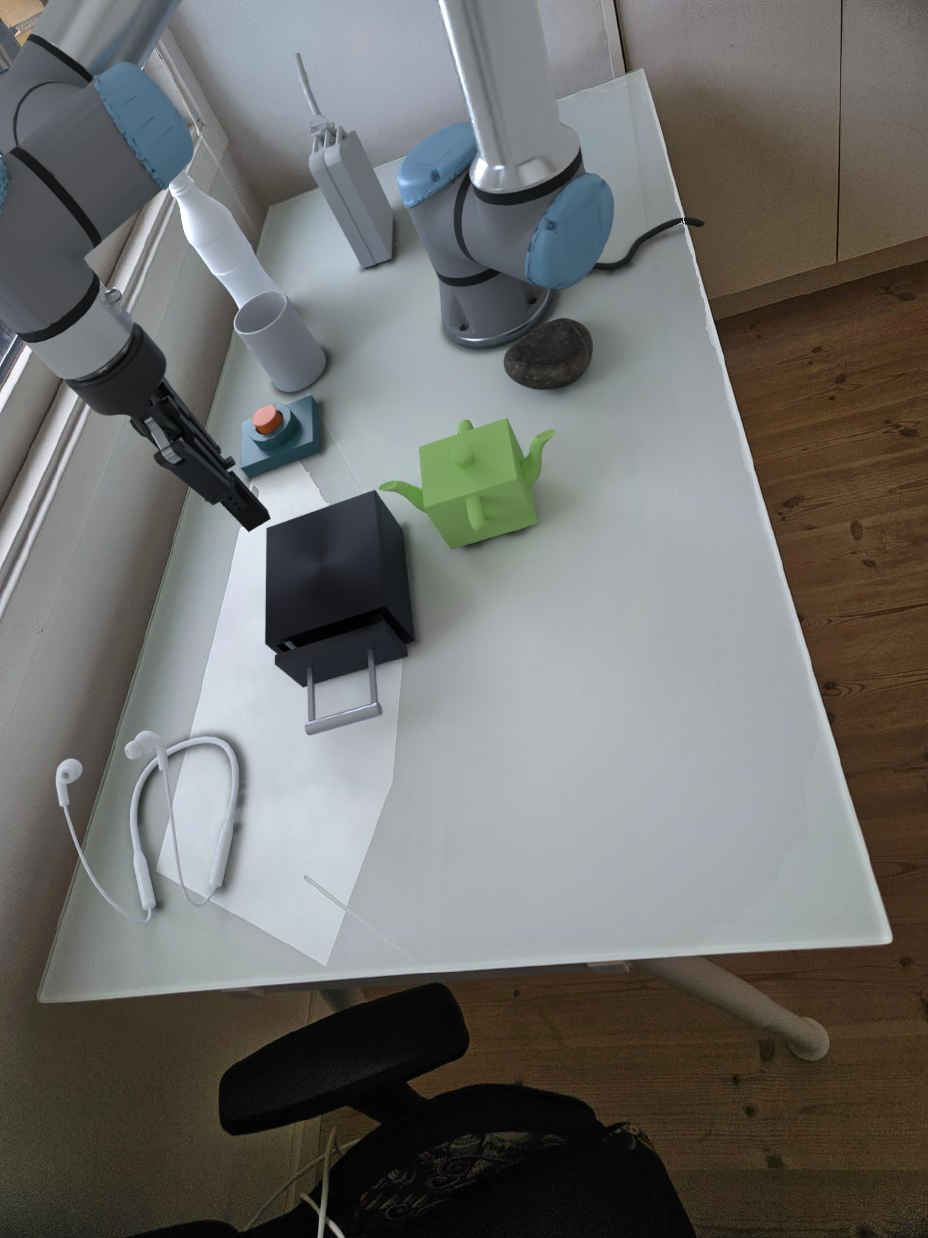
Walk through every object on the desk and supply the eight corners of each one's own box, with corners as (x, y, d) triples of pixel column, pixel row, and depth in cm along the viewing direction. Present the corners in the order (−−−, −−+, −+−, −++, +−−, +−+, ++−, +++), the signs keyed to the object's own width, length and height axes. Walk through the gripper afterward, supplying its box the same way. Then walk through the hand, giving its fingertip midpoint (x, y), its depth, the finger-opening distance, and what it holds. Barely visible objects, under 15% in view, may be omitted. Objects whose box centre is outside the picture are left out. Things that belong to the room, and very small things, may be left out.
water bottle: (299, 301, 128) (204, 151, 107) (282, 334, 125) (180, 186, 105) (264, 304, 131) (164, 158, 111) (246, 337, 128) (140, 193, 108)
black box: (415, 641, 88) (385, 605, 82) (302, 675, 91) (264, 644, 85) (403, 529, 97) (375, 489, 90) (300, 563, 100) (266, 527, 93)
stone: (515, 344, 105) (504, 314, 101) (597, 327, 102) (588, 295, 98) (510, 410, 100) (498, 381, 96) (596, 393, 96) (587, 363, 92)
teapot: (578, 485, 91) (554, 421, 82) (514, 580, 87) (483, 524, 79) (472, 451, 99) (441, 389, 90) (411, 536, 96) (372, 481, 87)
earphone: (100, 948, 78) (23, 778, 77) (183, 869, 95) (120, 728, 93) (222, 909, 76) (146, 733, 74) (285, 835, 92) (224, 689, 90)
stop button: (282, 410, 110) (275, 401, 108) (282, 429, 108) (275, 420, 106) (259, 419, 111) (252, 410, 109) (258, 438, 109) (251, 429, 107)
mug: (323, 384, 115) (283, 325, 106) (271, 398, 118) (227, 341, 109) (332, 326, 121) (295, 265, 112) (282, 341, 124) (242, 282, 115)
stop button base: (319, 405, 113) (305, 385, 110) (321, 451, 108) (306, 431, 105) (250, 431, 116) (234, 412, 113) (249, 478, 111) (232, 459, 108)
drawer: (414, 721, 82) (390, 698, 77) (304, 752, 85) (274, 731, 80) (397, 548, 94) (375, 519, 89) (301, 580, 97) (275, 553, 92)
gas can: (365, 212, 134) (287, 54, 113) (393, 202, 132) (318, 39, 112) (362, 271, 126) (277, 112, 106) (391, 260, 124) (311, 97, 104)
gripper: (150, 368, 61) (305, 544, 80) (127, 286, 69) (273, 464, 88) (67, 420, 61) (241, 582, 80) (53, 332, 69) (215, 499, 88)
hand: (258, 520), depth 84 cm, fingers closed
